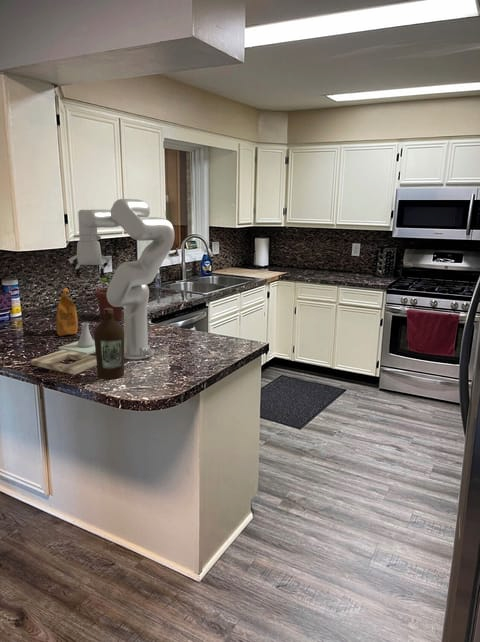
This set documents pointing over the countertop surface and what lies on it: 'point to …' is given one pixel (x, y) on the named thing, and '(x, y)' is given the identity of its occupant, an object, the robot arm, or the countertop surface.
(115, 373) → the olive oil
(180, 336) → the countertop surface
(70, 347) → the sage tile
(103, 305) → the potted plant
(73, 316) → the coffee package
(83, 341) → the flask
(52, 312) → the countertop surface
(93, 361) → the tan flat rectangular frame
